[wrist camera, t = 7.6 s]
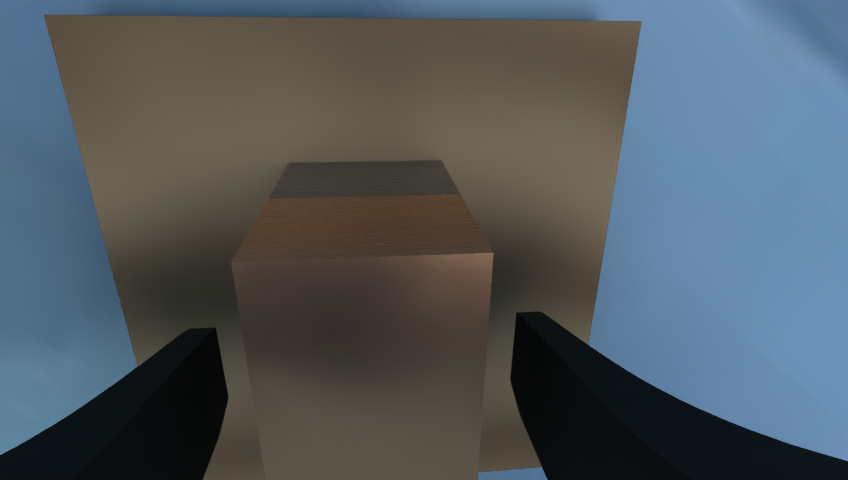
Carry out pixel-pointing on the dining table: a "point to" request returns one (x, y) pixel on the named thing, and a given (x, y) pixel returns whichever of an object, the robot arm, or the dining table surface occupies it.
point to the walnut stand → (345, 142)
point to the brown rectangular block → (366, 323)
